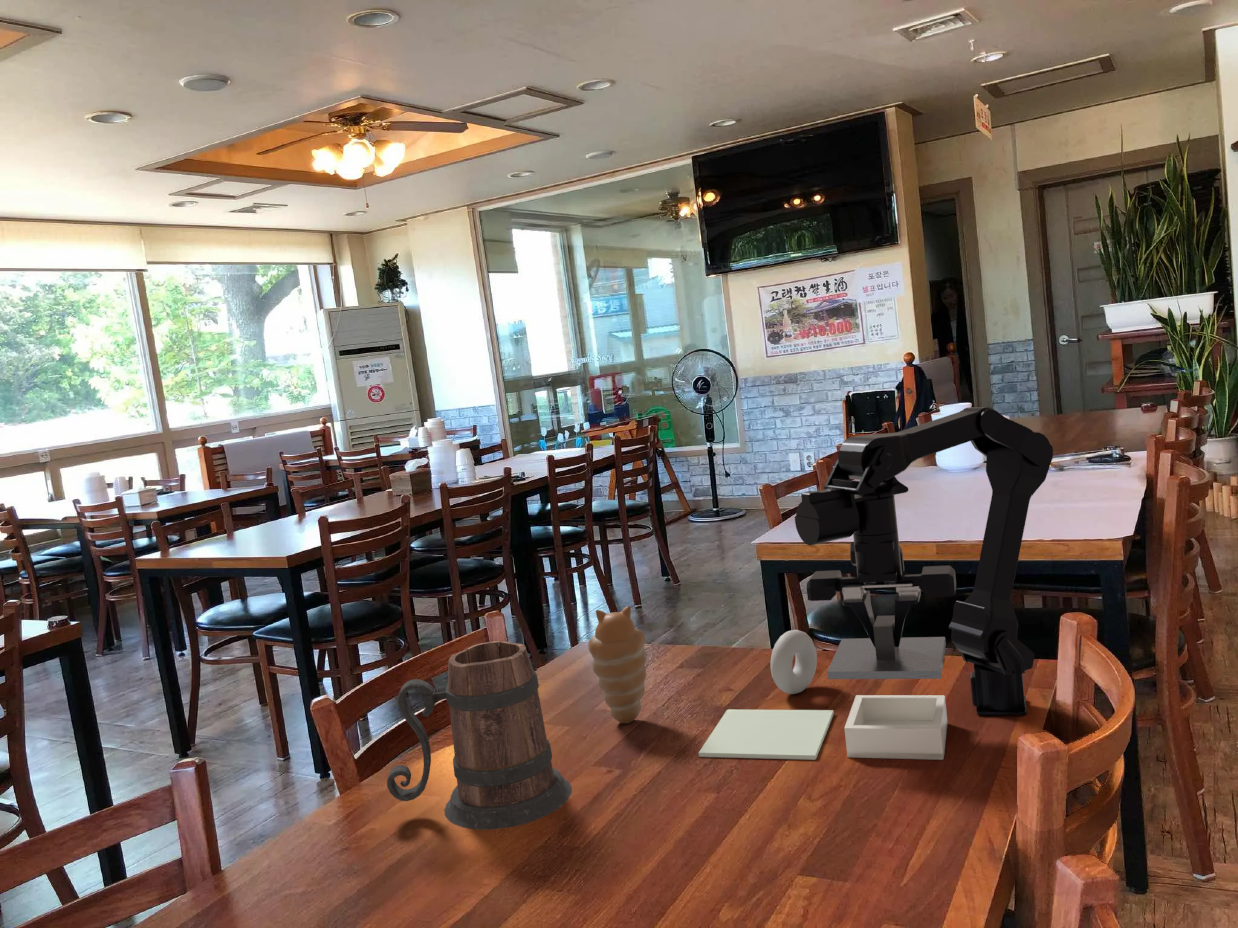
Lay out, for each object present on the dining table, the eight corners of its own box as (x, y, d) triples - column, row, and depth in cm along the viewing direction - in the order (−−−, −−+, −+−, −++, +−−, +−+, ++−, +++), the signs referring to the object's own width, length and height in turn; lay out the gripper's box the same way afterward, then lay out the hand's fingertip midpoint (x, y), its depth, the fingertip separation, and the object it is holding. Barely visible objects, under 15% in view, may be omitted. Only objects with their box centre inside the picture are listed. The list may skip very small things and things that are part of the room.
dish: (947, 723, 136) (944, 695, 136) (943, 759, 125) (940, 729, 125) (858, 722, 141) (856, 695, 140) (847, 757, 129) (844, 727, 129)
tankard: (568, 763, 140) (549, 625, 137) (576, 815, 123) (554, 660, 121) (400, 791, 137) (378, 651, 135) (385, 848, 121) (360, 690, 118)
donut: (787, 704, 151) (780, 641, 150) (769, 701, 153) (762, 638, 152) (824, 683, 158) (817, 623, 157) (806, 680, 160) (799, 621, 159)
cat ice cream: (653, 709, 156) (639, 598, 154) (657, 727, 148) (642, 611, 147) (598, 716, 156) (583, 606, 154) (598, 735, 148) (583, 618, 147)
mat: (833, 714, 145) (833, 710, 145) (815, 759, 130) (815, 755, 130) (727, 713, 151) (727, 709, 151) (699, 756, 136) (698, 752, 136)
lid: (945, 643, 136) (942, 604, 135) (941, 678, 123) (936, 635, 122) (842, 645, 141) (838, 607, 140) (827, 679, 128) (823, 637, 127)
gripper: (952, 515, 134) (962, 626, 136) (814, 523, 141) (825, 629, 142) (948, 532, 124) (960, 652, 125) (800, 540, 131) (813, 654, 132)
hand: (887, 646), depth 132 cm, fingers closed on lid, 2 cm apart
